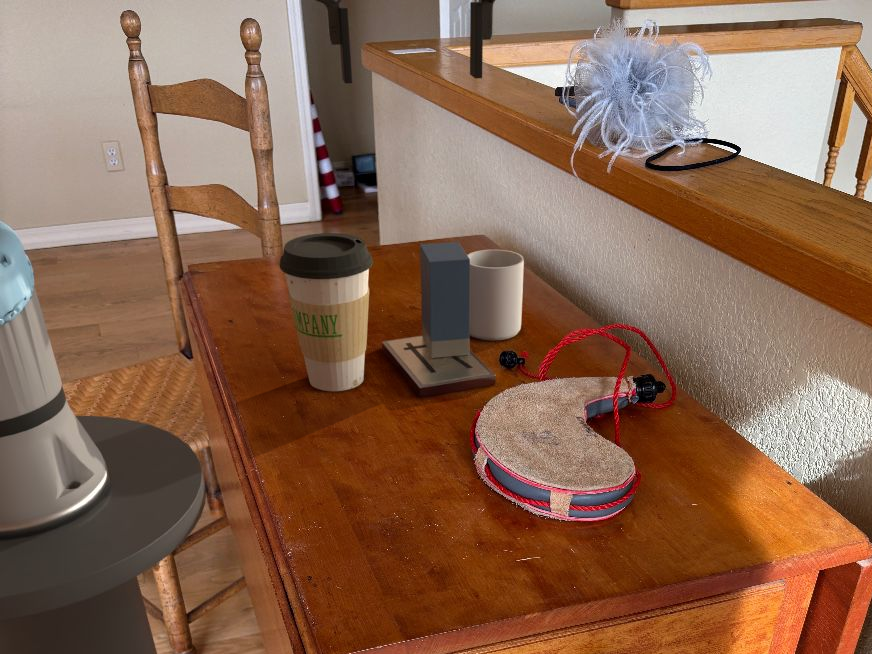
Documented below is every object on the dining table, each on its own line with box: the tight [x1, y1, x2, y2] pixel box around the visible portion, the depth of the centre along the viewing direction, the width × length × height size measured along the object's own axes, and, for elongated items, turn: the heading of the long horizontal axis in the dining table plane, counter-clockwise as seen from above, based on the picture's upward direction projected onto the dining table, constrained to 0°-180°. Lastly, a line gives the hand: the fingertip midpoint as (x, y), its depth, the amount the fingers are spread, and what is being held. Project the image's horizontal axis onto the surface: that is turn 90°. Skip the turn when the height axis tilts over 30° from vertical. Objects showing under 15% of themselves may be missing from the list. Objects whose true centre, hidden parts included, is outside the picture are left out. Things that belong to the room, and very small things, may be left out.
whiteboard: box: [381, 335, 496, 398], centre depth 108 cm, size 9×14×1 cm, turn 21°
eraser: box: [419, 241, 470, 358], centre depth 107 cm, size 4×6×11 cm
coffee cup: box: [279, 232, 374, 392], centre depth 101 cm, size 10×10×15 cm
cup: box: [467, 249, 525, 341], centre depth 116 cm, size 7×10×9 cm
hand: (412, 79), depth 97 cm, fingers open, 13 cm apart
